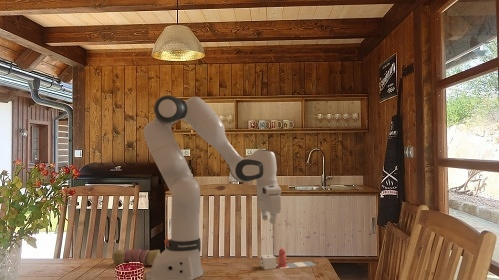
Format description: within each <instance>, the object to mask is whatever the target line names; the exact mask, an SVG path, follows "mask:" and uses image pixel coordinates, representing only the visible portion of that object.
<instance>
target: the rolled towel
mask: <svg viewBox="0 0 499 280" xmlns="http://www.w3.org/2000/svg"><path fill="white" fill-rule="evenodd" d="M160 254H161V250H160V249H153V250H149V249H145V250H143V249H139V248H135V249H126V250H124V249H115V250H113V253H112V261H113V265H121V264H122V263H124V264H125V263H129V262H140V263H143V266H144V265H145V266H148V265H152V263H153V261H154V259H155V258H156V257H157V256H159V255H160Z"/></svg>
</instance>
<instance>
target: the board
mask: <svg viewBox="0 0 499 280" xmlns="http://www.w3.org/2000/svg"><path fill="white" fill-rule="evenodd" d="M286 264H287V267H278V263H276V267H278V268H279V269H280V270H281V269H291V268H301V267H303V268H304V267H310V266H311V267H312V266H316V263H314V262H312V261H310V260H309V261H299V262H290V263H286Z"/></svg>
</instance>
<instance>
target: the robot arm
mask: <svg viewBox="0 0 499 280" xmlns="http://www.w3.org/2000/svg"><path fill="white" fill-rule="evenodd" d="M153 113H154V118H153V120H152V121H150V122H147V124H146V125H145V126H144V128H143V131H142V133H143V135H144V139H145V143H146V145H147V148H148V150H149V152H150V154H151V156H152V158H153V160H154V162H155V165H156V166H157V168H158V170H159V172H160V174H161V176H162V179H163V180H164V182H165V184H166V185H167V188H168V190H169V192H170V194H171V218H170V219H171V221H170V223H171V224H170V225H171V227H170V228H171V229H170V234H171V235H170V237H171V238H166V239H164V244H165V249H164V250H163V251H162V252H160V255H159V256H157V257H156V258H155V259H154V261H153V263H152V264H151V268H150V270H149V271H147V272H146V273H145V280H194V279H197V278H199V277H201V276H203V274H204V273H205V272H204V270H203V266H202V262H201V261H202V260H201V250H202V249H201V243H202V242H201V238H200V211H201V209H200V208H201V186H200V184H199V182H197V180H196V179H195V178H194V175H193V174H192V171H191V170H190V167H189V165H188V164H189V163H188V162H187V160H186V158H185V156H184V153H183V152H182V150H181V148H180V146H179V144H178V141H177V140H176V138H175V136H174V133H173V131H172V127H174V125H175V124H177V123H178V122H179V121H186V123H187V124H189V125H190V127H191V128H192V129H193V130H194V131H195V132H196V133H197V135H198V136H199V137H200V138H201V139H202V140H204V141H205V142H206V143H208V144H209V145H211V147H213V148H214V150H216V152H217V153H218V154H219V155H220V156H221V158H222V159H223V160H224V161H225V163H226V164H227V166H228V169H229V172H230V175H231V177H232V178H233V179H235V181H240V182H245V183H247V182H251V181H255V185H256V206H257V208H258V209H260V213H261V215H262V220H264V221H267V220H268V214H267V212H268V213H269V216H270V218H269V223H270V224H271V225H274V224H276V218H277V214H280V213H281V210H282V199H281V198H282V197H281V194H282V187H280V185H279V183H278V178H277V171H278V168H277V158H276V155H275V152H273V151H272V150H269V149H261V148H260V149H256V151H254V152H253V153H251V154H250V155H248V156H246V157H243V156H241V155H240V154H239V152H237V151H236V149H235V148H234V146H233V145H232V144H231V143H230V141H229V139H228V138H227V136H226V130H225V129H226V128H225V125H224V123H223V121H222V120H221V118H220V116H219V115H218V114H217V113H216V112H215V110H214V109H213V108H212V107H211V106H210V105H209V104H208V103H207V102H206V101H204V100H203V99H202V98H201V97H199V96H192V97H189V98H188V99H186V100H184V99H182V98H180V97H179V98H178V97H176V96H173V95H163V96H160V97H159V98H158V99H157V100H156V101H155V103H154V106H153Z"/></svg>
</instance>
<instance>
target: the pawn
mask: <svg viewBox="0 0 499 280" xmlns="http://www.w3.org/2000/svg"><path fill="white" fill-rule="evenodd" d="M277 264H278V266H277V267H278V268H279V267H287V264H288V263H287V254H286V250H285V248H280V249H279V250H278V263H277Z"/></svg>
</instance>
